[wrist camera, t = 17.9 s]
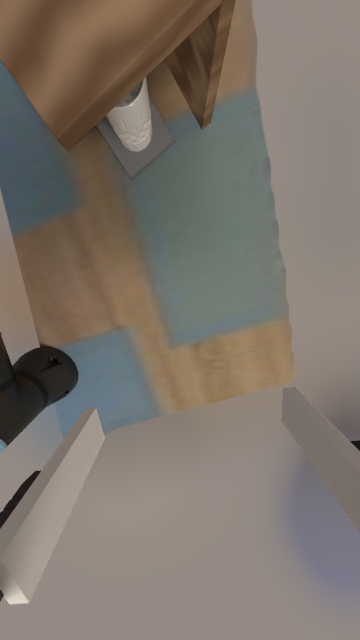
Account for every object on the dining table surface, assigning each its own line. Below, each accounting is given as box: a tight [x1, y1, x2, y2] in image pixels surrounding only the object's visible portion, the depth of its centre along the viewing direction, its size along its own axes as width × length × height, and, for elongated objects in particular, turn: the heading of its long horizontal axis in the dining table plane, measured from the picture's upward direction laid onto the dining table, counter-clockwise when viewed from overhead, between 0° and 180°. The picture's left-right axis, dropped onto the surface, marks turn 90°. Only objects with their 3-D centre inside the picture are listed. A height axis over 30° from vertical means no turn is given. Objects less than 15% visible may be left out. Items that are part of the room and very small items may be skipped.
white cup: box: [106, 77, 152, 152], centre depth 28 cm, size 8×8×10 cm
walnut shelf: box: [0, 0, 236, 152], centre depth 24 cm, size 14×24×18 cm, turn 125°
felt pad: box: [96, 96, 175, 180], centre depth 33 cm, size 11×11×1 cm
